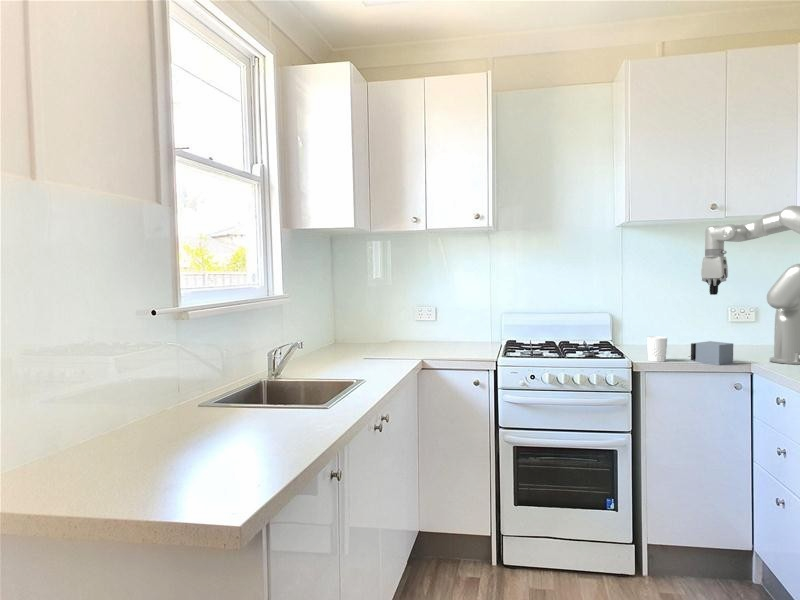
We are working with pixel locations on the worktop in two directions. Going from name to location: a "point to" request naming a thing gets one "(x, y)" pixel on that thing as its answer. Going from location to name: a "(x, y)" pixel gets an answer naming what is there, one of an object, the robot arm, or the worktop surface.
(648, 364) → the worktop surface
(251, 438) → the worktop surface
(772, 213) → the robot arm
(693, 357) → the plunger
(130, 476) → the worktop surface
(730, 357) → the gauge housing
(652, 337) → the white cup
